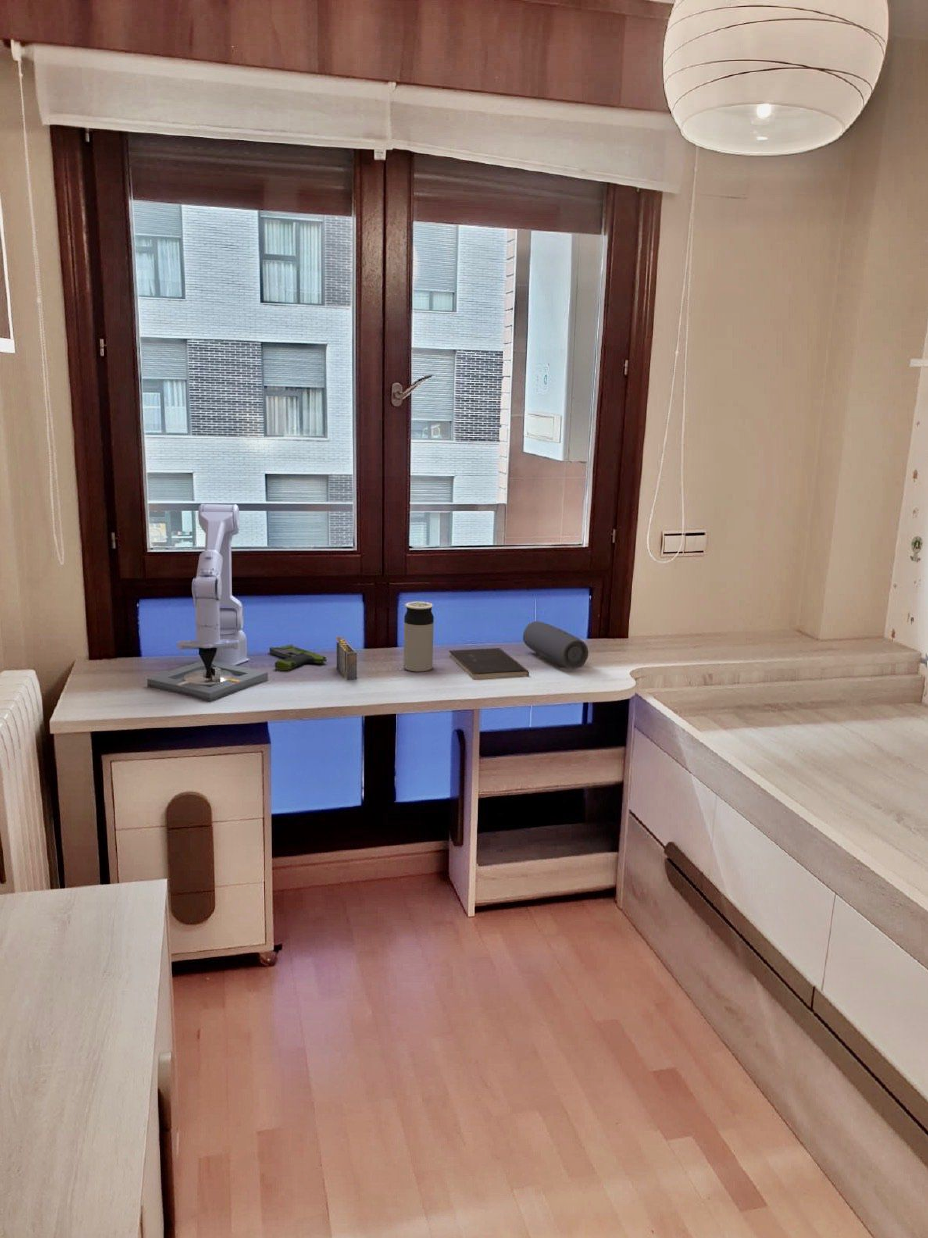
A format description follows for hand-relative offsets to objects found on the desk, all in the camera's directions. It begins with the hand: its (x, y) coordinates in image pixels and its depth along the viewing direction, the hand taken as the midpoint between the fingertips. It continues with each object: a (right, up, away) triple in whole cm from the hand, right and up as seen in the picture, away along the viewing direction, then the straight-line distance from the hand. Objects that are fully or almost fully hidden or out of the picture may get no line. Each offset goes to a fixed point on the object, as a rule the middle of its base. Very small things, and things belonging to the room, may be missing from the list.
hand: (209, 676), depth 237 cm
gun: (+15, +3, +27) cm, 31 cm away
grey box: (+32, -1, +18) cm, 37 cm away
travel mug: (+51, +1, +24) cm, 57 cm away
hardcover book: (+70, +1, +29) cm, 76 cm away
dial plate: (-2, -2, +5) cm, 6 cm away
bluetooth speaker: (+89, +2, +34) cm, 96 cm away
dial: (-2, -1, +5) cm, 5 cm away
